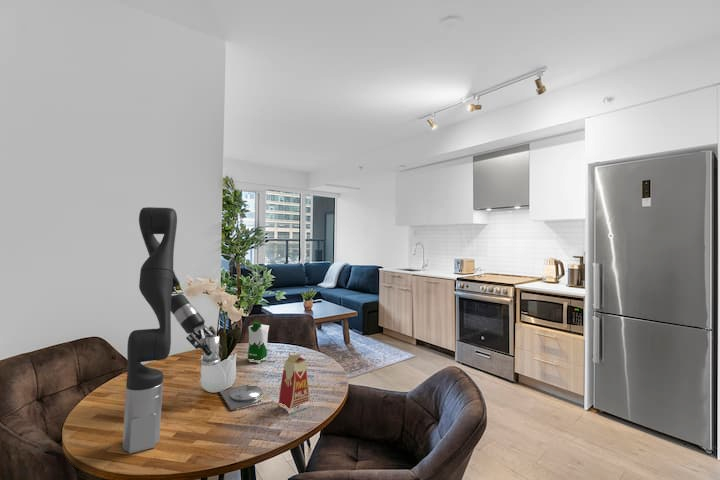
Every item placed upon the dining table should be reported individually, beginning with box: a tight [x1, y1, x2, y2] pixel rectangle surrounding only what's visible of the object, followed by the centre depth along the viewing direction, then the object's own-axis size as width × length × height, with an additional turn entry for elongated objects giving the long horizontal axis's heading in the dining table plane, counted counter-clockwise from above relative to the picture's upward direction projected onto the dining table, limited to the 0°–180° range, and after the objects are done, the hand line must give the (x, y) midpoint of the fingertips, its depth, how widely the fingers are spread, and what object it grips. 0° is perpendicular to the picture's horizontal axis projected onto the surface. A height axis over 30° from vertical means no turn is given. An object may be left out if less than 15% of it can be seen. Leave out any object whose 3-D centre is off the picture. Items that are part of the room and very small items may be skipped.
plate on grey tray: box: [219, 384, 262, 411], centre depth 133 cm, size 18×16×2 cm
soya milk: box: [247, 321, 270, 360], centre depth 175 cm, size 9×9×20 cm
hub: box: [200, 334, 221, 367], centre depth 130 cm, size 7×7×10 cm
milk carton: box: [278, 353, 311, 409], centre depth 127 cm, size 9×9×20 cm
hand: (215, 351), depth 130 cm, fingers closed on hub, 5 cm apart
